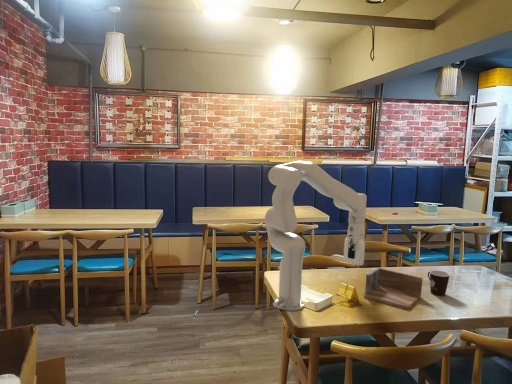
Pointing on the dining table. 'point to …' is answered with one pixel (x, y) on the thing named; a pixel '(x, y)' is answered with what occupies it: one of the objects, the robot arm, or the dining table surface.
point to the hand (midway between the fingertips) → (353, 256)
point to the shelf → (393, 288)
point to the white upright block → (358, 253)
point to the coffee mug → (438, 282)
